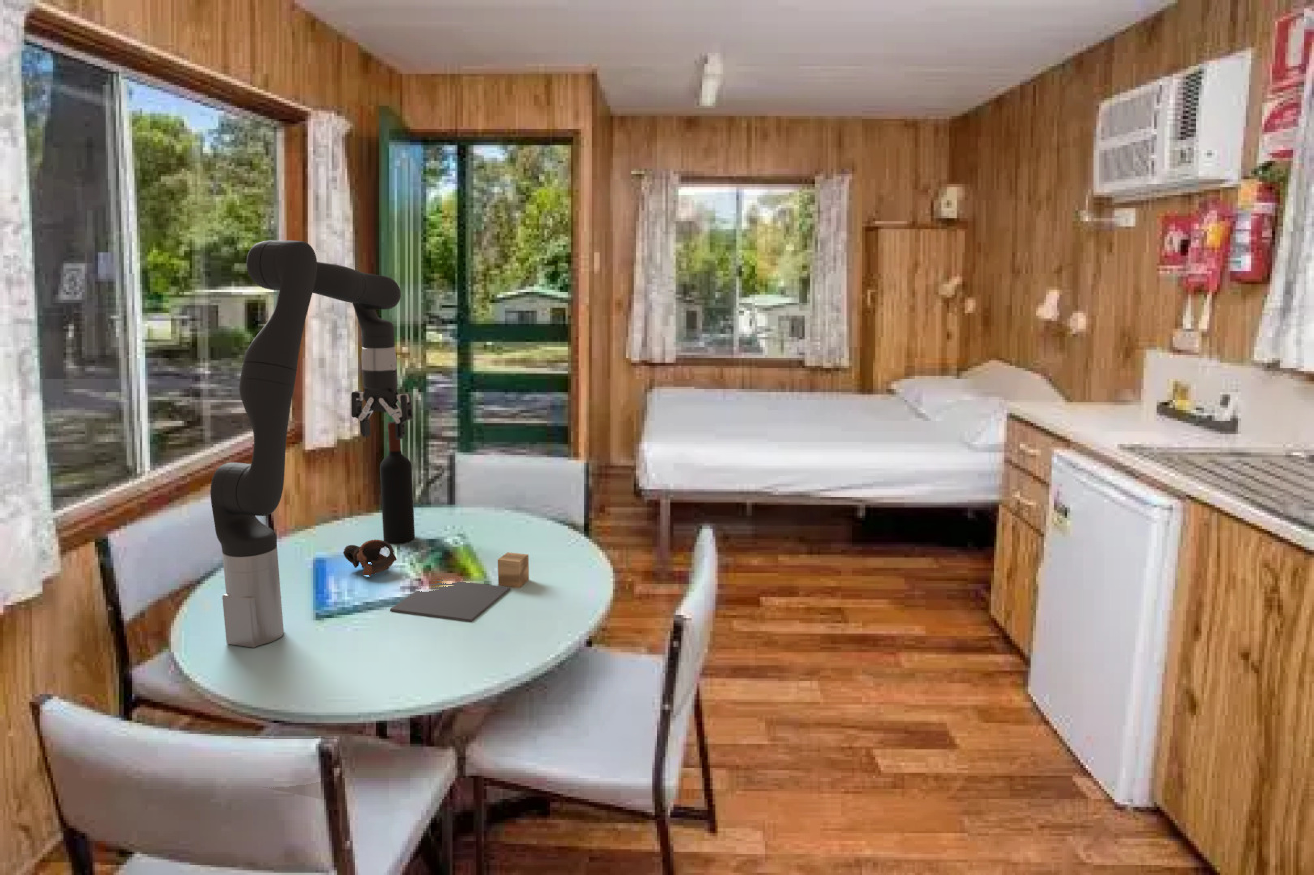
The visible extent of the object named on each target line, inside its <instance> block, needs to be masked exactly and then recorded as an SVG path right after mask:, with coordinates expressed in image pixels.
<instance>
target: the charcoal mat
mask: <svg viewBox="0 0 1314 875" xmlns="http://www.w3.org/2000/svg"><path fill="white" fill-rule="evenodd" d="M434 581H435V580H434ZM437 581H440V580H437ZM441 581H443V580H441ZM466 582H467V581H462V582H457V583H452V584H446V583H445V584H444V583H443V584H442V583H437V584H430V585H454V586H448V587H446V586H445V587H444V586H443V587H439V588H438V587H437V588H436V587H435V588H431V589H439V590H435V591H434V590H433V591H429V592H422V591H421V592H420V591H417V590H416V591H414V592H413V593H411V594H410V595H408V596H407V597H405V598H404V599H403V600H401V601H400V602H398V603H396V604H395V605H393V606H392V607H391V608H389V609H390V612H394V613H403V614H409V615H410V614H411V615H417V616H418V615H419V616H425V617H433V618H440V619H447V620H455V621H461V622H473V621H475V619H476V618H478V617H479V616H480V615H481V614H482V613H484V612H485V611H486V610H488V609H489V608H490V607H491V606H492V605H493V604H495V603H496V602H497V601H498V600H499V599H500V598H502V597H503V596H504V595H505V594H506V593H508V592H509V591H510V590H511V587H507V586H498V585H493V584H485V583H478V582H477V583H476V582H470V583H466ZM421 588H422V587H420V588H419V589H421Z"/></svg>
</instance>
